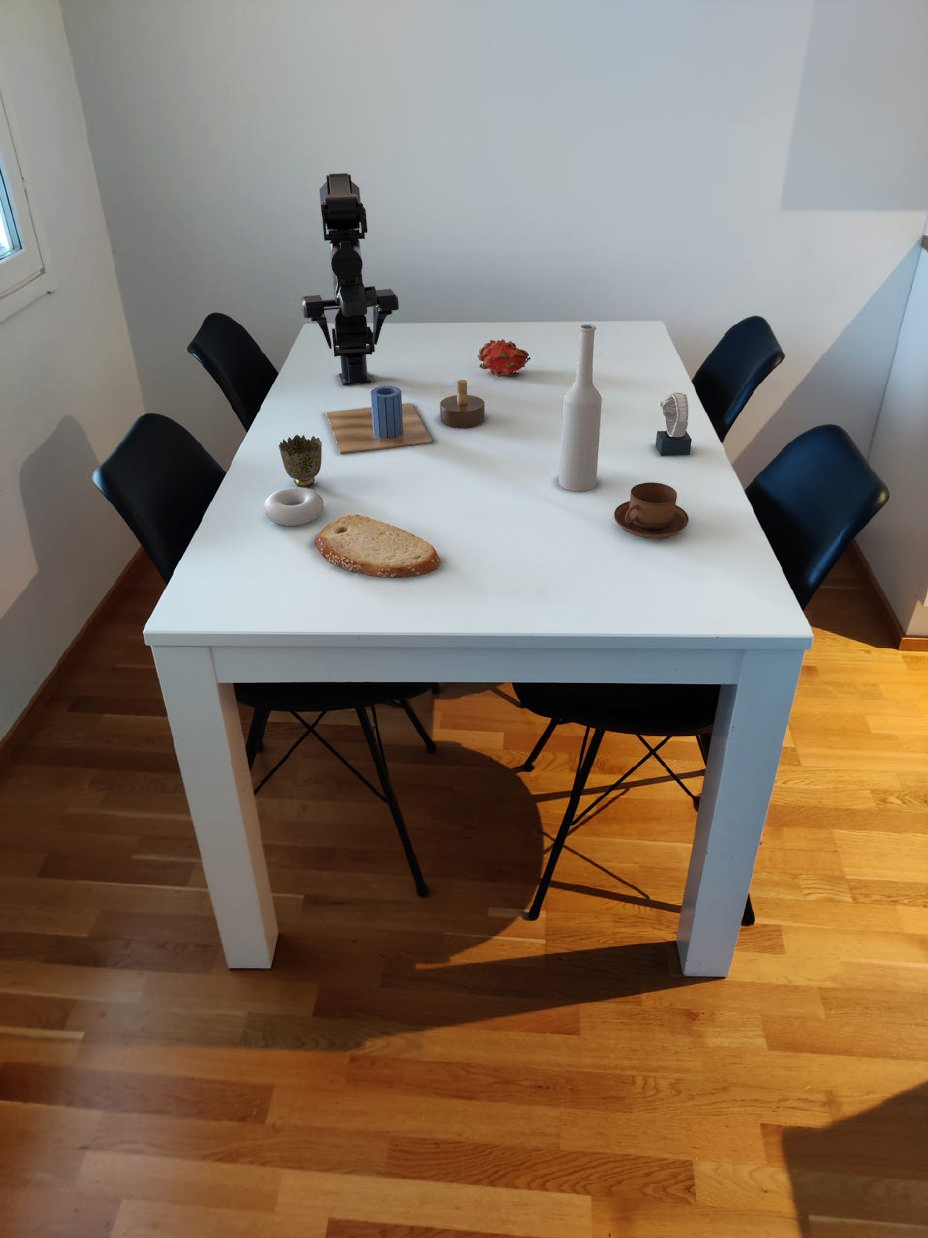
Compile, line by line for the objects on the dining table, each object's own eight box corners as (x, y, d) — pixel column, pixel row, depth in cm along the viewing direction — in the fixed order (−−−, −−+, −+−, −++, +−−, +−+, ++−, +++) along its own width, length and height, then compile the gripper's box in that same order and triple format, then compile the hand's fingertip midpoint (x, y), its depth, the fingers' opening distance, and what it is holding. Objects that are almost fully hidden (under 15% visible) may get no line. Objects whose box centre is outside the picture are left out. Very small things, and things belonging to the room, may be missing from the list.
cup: (332, 478, 171) (328, 437, 166) (314, 496, 165) (309, 454, 160) (296, 472, 173) (291, 432, 168) (276, 490, 167) (270, 448, 162)
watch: (681, 440, 182) (688, 386, 176) (692, 458, 176) (699, 402, 169) (652, 441, 182) (658, 387, 176) (662, 459, 175) (669, 403, 169)
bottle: (603, 482, 168) (616, 325, 152) (581, 495, 164) (591, 335, 148) (574, 471, 172) (583, 317, 156) (551, 483, 168) (558, 326, 152)
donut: (317, 531, 155) (330, 501, 163) (315, 512, 153) (328, 484, 161) (258, 528, 156) (274, 499, 164) (255, 510, 154) (271, 482, 162)
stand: (436, 413, 195) (434, 375, 190) (477, 408, 197) (477, 371, 192) (446, 430, 188) (445, 391, 183) (489, 425, 189) (489, 387, 185)
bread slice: (446, 571, 144) (445, 550, 142) (329, 591, 140) (327, 569, 138) (417, 517, 158) (416, 497, 156) (310, 534, 154) (308, 513, 152)
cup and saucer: (670, 551, 148) (675, 517, 144) (601, 532, 153) (603, 498, 150) (698, 519, 156) (702, 486, 153) (631, 502, 162) (634, 469, 158)
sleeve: (378, 425, 189) (376, 384, 184) (406, 427, 188) (404, 386, 183) (369, 437, 184) (366, 395, 180) (398, 439, 183) (395, 397, 178)
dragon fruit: (473, 379, 215) (525, 386, 215) (476, 368, 206) (530, 376, 207) (477, 342, 215) (529, 349, 216) (481, 330, 206) (534, 338, 207)
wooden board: (326, 414, 195) (325, 412, 195) (411, 404, 199) (411, 402, 198) (340, 453, 179) (340, 451, 179) (432, 442, 183) (432, 440, 183)
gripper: (303, 281, 173) (311, 363, 182) (402, 273, 177) (406, 354, 186) (296, 266, 182) (305, 345, 191) (391, 258, 186) (395, 337, 195)
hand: (353, 346), depth 191 cm, fingers open, 9 cm apart
